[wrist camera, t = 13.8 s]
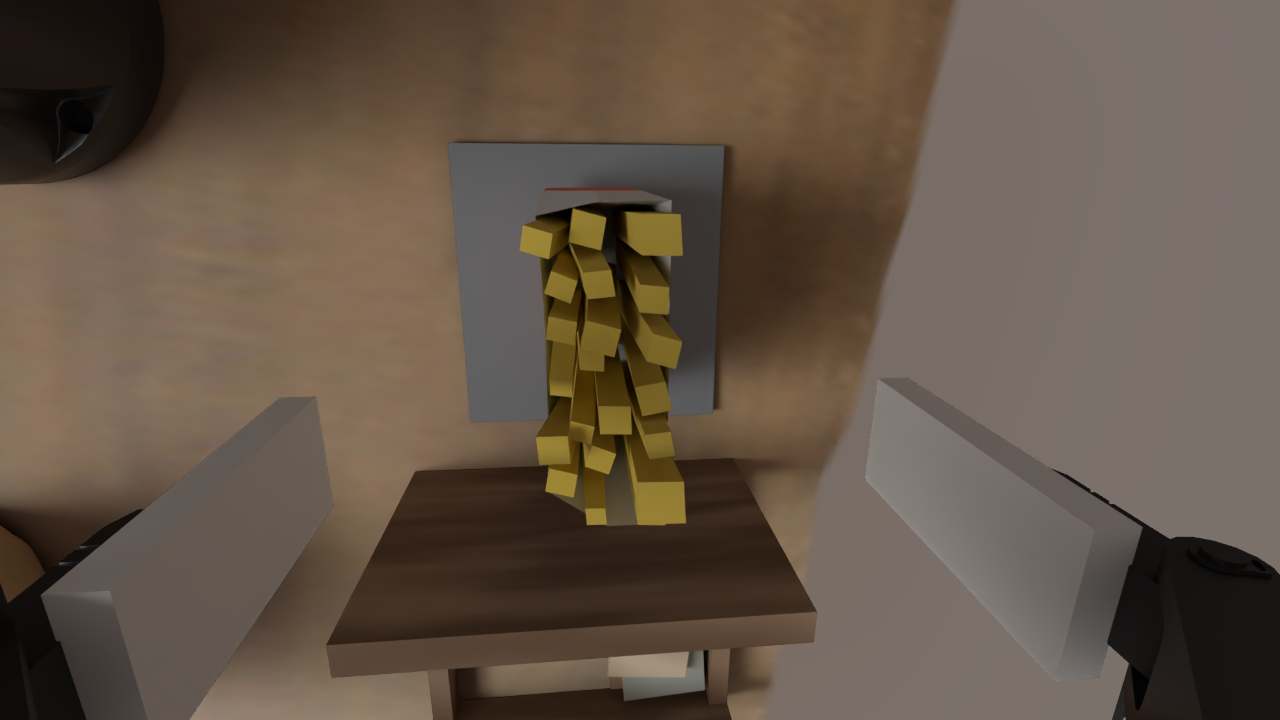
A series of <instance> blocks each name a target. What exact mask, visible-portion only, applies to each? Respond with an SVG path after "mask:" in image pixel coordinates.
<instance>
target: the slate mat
mask: <svg viewBox="0 0 1280 720" xmlns="http://www.w3.org/2000/svg"><path fill="white" fill-rule="evenodd" d="M448 147H449V160H450V172H451V185H452V197H453V210H454V223H455V235H456V248H457V260H458V273H459V285H460V298H461V311H462V323H463V336H464V348H465V361H466V373H467V386H468V399H469V411H470V422H495V421H524V420H547V418H548V414H547V376H546V339H545V324H544V309H543V294H542V279H541V267H540V258H539V256H536V255H532V254H529V253H526V252H522V251H520V244H521V236H522V229H523V225H525V224H527V223H530V222H533V221H535V220H536V218H535V215H536V212H537V209H538V206H539V203H540V200H541V197H542V194H543V191H544V190H545V189H546V188H635V189H638V190H641V191H645V192H648V193H651V194H654V195H657V196H660V197H663V198H666V199H669V200H672V204H671V213H672V214H681V230H682V248H683V256H671V266H670V326H671V328H672V329H673V330H674V332H675V333H676V334H677V336H678V337H679V338H680V339H681V341H682V346H681V350H680V354H679V358H678V362H677V366H676V369H673V368H669V391H668V394H669V398H670V402H671V406H672V411H668V416H669V415H698V414H713V394H714V371H715V348H716V325H717V302H718V279H719V256H720V233H721V211H722V188H723V165H724V146H706V145H608V144H511V143H448Z"/></svg>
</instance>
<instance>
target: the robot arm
mask: <svg viewBox="0 0 1280 720" xmlns="http://www.w3.org/2000/svg"><path fill="white" fill-rule="evenodd" d="M163 58H164V39H163V28H162V21H161V15H160V10H159V6H158V1H157V0H0V185H6V184H39V183H49V182H55V181H60V180H65V179H69V178H72V177H76V176H79V175H81V174H84V173H87V172H89V171H91V170H93V169H95V168H97V167H99V166H101V165H102V164H104V163H106V162H107V161H109V160H110V159H112V158H113V157H114V156H116V155H117V154H118V153H119V152H120V151H122V150H123V149H124V148H125V147H126V146H127V145H128V144H129V143H130V142H131V141H132V139H133V138H134V137H135V136H136V135H137V133H138V132H139V131H140V129H141V128H142V126H143V124H144V123H145V121H146V119H147V117H148V116H149V114H150V112H151V109H152V107H153V105H154V102H155V99H156V96H157V93H158V90H159V86H160V81H161V76H162V69H163ZM865 480H866V481H867V482H868V483H869V484H870V485H871V486H872V487H873V488H874V489H875V491H877V493H878V494H879V495H880V496H881V497H882V498H883V499H884V500H885V501H886V502H887V503H888V504H889V505H890V506H891V508H892V509H893V510H894V511H895V512H896V513H897V514H898V515H899V516H900V517H901V518H902V519H903V520H904V521H905V523H906V524H907V525H908V526H909V527H910V528H911V529H912V530H913V531H914V532H915V533H916V534H917V535H918V536H919V537H920V538H921V540H922V541H923V542H924V543H925V544H926V545H927V546H928V547H929V548H930V549H931V550H932V551H933V552H934V553H935V555H936V556H937V557H938V558H939V559H940V560H941V561H942V562H943V563H944V564H945V565H946V566H947V567H948V568H949V569H950V571H951V572H952V573H953V574H954V575H955V576H956V577H957V578H958V579H959V580H960V581H961V582H962V583H963V584H964V585H965V586H966V588H967V589H968V590H969V591H970V592H971V593H972V594H973V595H974V596H975V597H976V598H977V599H978V600H979V601H980V602H981V604H982V605H983V606H984V607H985V608H986V609H987V610H988V611H989V612H990V613H991V614H992V615H993V616H994V617H995V618H996V619H997V621H998V622H999V623H1000V624H1001V625H1002V626H1003V627H1004V628H1005V629H1006V630H1007V631H1008V632H1009V633H1010V634H1011V636H1012V637H1013V638H1014V639H1015V640H1016V641H1017V642H1018V643H1019V644H1020V645H1021V646H1022V647H1023V648H1024V649H1025V650H1026V652H1027V653H1028V654H1029V655H1030V656H1031V657H1032V658H1033V659H1034V660H1035V661H1036V662H1037V663H1038V664H1039V665H1040V666H1041V667H1042V669H1044V671H1045V672H1046V673H1047V674H1048V675H1049V676H1050V677H1051V678H1052V679H1053V680H1054V681H1055V682H1058V681H1059V682H1060V681H1071V680H1082V679H1093V678H1099V677H1100V674H1101V670H1102V667H1103V663H1104V660H1105V656H1106V653H1107V649H1108V646H1109V645H1110V646H1111V647H1112V648H1113V649H1114V650H1115V651H1116V652H1117V653H1119V654H1120V655H1121V656H1122V657H1123V658H1124V659H1125V660H1126V661H1127V662H1128V663H1129V666H1128V669H1127V672H1126V676H1125V679H1124V682H1123V685H1122V689H1121V692H1120V696H1119V699H1118V702H1117V705H1116V709H1115V712H1114V715H1113V718H1112V720H1123V718H1124V717H1126V720H1280V574H1279V573H1278V572H1277V571H1276V570H1275V569H1274V568H1273V567H1271V566H1270V565H1268V564H1267V563H1265V562H1264V561H1262V560H1261V559H1259V558H1258V557H1256V556H1253V555H1251V554H1249V553H1247V552H1245V551H1242V550H1240V549H1238V548H1235V547H1232V546H1229V545H1226V544H1222V543H1219V542H1216V541H1212V540H1207V539H1202V538H1195V537H1175V538H1172V539H1169V538H1167V537H1166V536H1164V535H1162V534H1161V533H1159V532H1158V531H1156V530H1154V529H1153V528H1151V527H1150V526H1148V525H1146V524H1145V523H1143V522H1142V521H1140V520H1139V519H1137V518H1135V517H1134V516H1132V515H1131V514H1129V513H1127V512H1125V511H1124V510H1123V509H1121V508H1119V507H1118V506H1116V505H1114V504H1109V501H1108V500H1106V499H1105V498H1103V497H1102V496H1100V495H1099V494H1097V493H1095V492H1091V491H1090V489H1089V488H1087V487H1086V486H1084V485H1083V484H1081V483H1079V482H1078V481H1076V480H1074V479H1073V478H1071V477H1070V476H1068V475H1066V474H1064V473H1061V472H1059V471H1056V470H1054V469H1051V468H1049V467H1047V466H1046V465H1044V464H1043V463H1041V462H1039V461H1038V460H1036V459H1035V458H1033V457H1032V456H1030V455H1028V454H1027V453H1025V452H1024V451H1022V450H1021V449H1019V448H1017V447H1016V446H1014V445H1013V444H1011V443H1010V442H1008V441H1006V440H1005V439H1003V438H1002V437H1000V436H999V435H997V434H995V433H994V432H992V431H991V430H989V429H987V428H986V427H984V426H983V425H981V424H980V423H978V422H976V421H975V420H973V419H972V418H970V417H969V416H967V415H965V414H964V413H962V412H961V411H959V410H958V409H956V408H954V407H953V406H951V405H950V404H948V403H946V402H945V401H943V400H942V399H940V398H939V397H937V396H935V395H934V394H932V393H931V392H929V391H928V390H926V389H925V388H923V387H921V386H920V385H918V384H917V383H915V382H914V381H912V380H910V379H909V378H887V379H886V378H885V379H878V383H877V391H876V398H875V406H874V413H873V421H872V429H871V437H870V444H869V452H868V460H867V467H866V476H865ZM333 506H334V505H333V499H332V492H331V486H330V480H329V474H328V467H327V461H326V455H325V449H324V442H323V436H322V430H321V424H320V417H319V411H318V405H317V399H316V397H285V398H279V399H278V400H276V401H275V402H274V403H273V404H272V405H270V406H269V407H268V408H267V409H265V410H264V411H263V412H262V413H261V414H259V415H258V416H257V417H256V418H255V419H253V420H252V421H251V422H250V423H249V424H247V425H246V426H245V427H244V428H242V429H241V430H240V431H239V432H238V433H236V434H235V435H234V436H233V437H232V438H230V439H229V440H228V441H227V442H225V443H224V444H223V445H222V446H221V447H219V448H218V449H217V450H216V451H215V452H213V453H212V454H211V455H210V456H209V457H207V458H206V459H205V460H204V461H202V462H201V463H200V464H199V465H198V466H196V467H195V468H194V469H193V470H192V471H190V472H189V473H188V474H187V475H186V476H184V477H183V478H182V479H181V480H179V481H178V482H177V483H176V484H175V485H173V486H172V487H171V488H170V489H169V490H167V491H166V492H165V493H164V494H163V495H161V496H160V497H159V498H158V499H156V500H155V501H154V502H153V503H152V504H150V505H149V506H148V507H147V508H146V509H139V510H136V511H134V512H132V513H130V514H129V515H127V516H125V517H123V518H121V519H119V520H117V521H115V522H113V523H111V524H109V525H107V526H105V527H103V528H102V529H101V530H100V531H98V532H97V533H96V534H95V535H93V536H92V537H91V538H90V539H88V540H87V541H86V542H84V543H83V544H82V545H81V546H80V549H79V550H74V551H73V552H72V553H71V554H69V555H68V556H67V557H66V558H64V559H63V560H62V561H60V562H59V566H58V567H53V568H52V569H50V570H49V571H48V572H47V573H45V574H44V575H43V576H42V577H40V578H39V579H38V580H36V581H35V582H34V583H33V584H31V585H30V586H29V587H28V588H26V589H25V590H24V591H23V592H21V593H20V594H19V595H18V596H16V597H15V598H14V599H12V600H11V601H10V602H9V603H7V600H6V597H5V594H4V591H3V589H2V586H1V583H0V720H189V719H190V718H191V717H192V715H193V714H194V712H195V711H196V709H197V708H198V706H199V705H200V703H201V702H202V700H203V699H204V697H205V696H206V694H207V693H208V691H209V690H210V688H211V687H212V685H213V684H214V682H215V681H216V679H217V678H218V677H219V675H220V674H221V672H222V671H223V669H224V668H225V666H226V665H227V663H228V662H229V660H230V659H231V657H232V656H233V654H234V653H235V651H236V650H237V648H238V647H239V645H240V644H241V642H242V641H243V639H244V638H245V636H246V635H247V634H248V632H249V631H250V629H251V628H252V626H253V625H254V623H255V622H256V620H257V619H258V617H259V616H260V614H261V613H262V611H263V610H264V608H265V607H266V605H267V604H268V602H269V601H270V599H271V598H272V596H273V595H274V594H275V592H276V591H277V589H278V588H279V586H280V585H281V583H282V582H283V580H284V579H285V577H286V576H287V574H288V573H289V571H290V570H291V568H292V567H293V565H294V564H295V562H296V561H297V559H298V558H299V556H300V555H301V554H302V552H303V551H304V549H305V548H306V546H307V545H308V543H309V542H310V540H311V539H312V537H313V536H314V534H315V533H316V531H317V530H318V528H319V527H320V525H321V524H322V522H323V521H324V519H325V518H326V516H327V515H328V513H329V512H330V511H331V509H332V508H333Z"/></svg>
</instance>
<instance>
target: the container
mask: <svg viewBox="0 0 1280 720" xmlns="http://www.w3.org/2000/svg"><path fill="white" fill-rule="evenodd" d="M44 574H45V571H44V569H43V567H42V566H41V564H40V562H39V560H38V558H37V556H36V554H35V552H34V551H33V549H32V548H31V547H30V546H29V545H28V544H27V543H25V542H24V541H23V540H22V539H21V538H19V537H17V536H15V535H13V534H11V533H10V532H9V531H8V530H6V529H5V528H3V527H2V526H1V525H0V583H1V586H2V589H3V591H4V594H5V597H6V600H7V603H9V602H10V601H11V600H12V599H14V598H15V597H16V596H18V595H19V594H20V593H21V592H23V591H24V590H25V589H26V588H28V587H29V586H30V585H31V584H33V583H34V582H35V581H36V580H38V579H39V578H40V577H42V576H43V575H44Z"/></svg>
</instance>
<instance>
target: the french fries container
mask: <svg viewBox="0 0 1280 720" xmlns="http://www.w3.org/2000/svg"><path fill="white" fill-rule="evenodd" d="M671 204H672V200H669V199H666V198H663V197H660V196H657V195H654V194H651V193H648V192H645V191H641V190H638V189H635V188H546V189H545V190H544V191H543V194H542V197H541V200H540V203H539V206H538V209H537V212H536V215H535V218H536V220H535V221H533V222H530V223H527V224H525V225H523V229H522V236H521V244H520V251H522V252H526V253H529V254H532V255H536V256H539V258H540V267H541V279H542V294H543V309H544V324H545V339H546V376H547V414H548V418H547V420H546V422H545V423H544V425H543V426H542V428H541V430H540V431H539V433H538V435H537V436H536V442H537V450H538V459H539V465H548V478H547V484H546V490H545V491H546V492H550V493H551V494H553V495H555V496H556V497H558V498H560V499H562V500H563V501H565V502H567V503H568V504H570V505H572V506H574V507H575V508H577V509H579V510H580V511H582V512H584V513H586V520H587V525H606V526H619V525H665V524H674V523H686V515H685V494H684V481H683V479H682V477H681V475H680V473H679V471H678V469H677V467H676V464H675V462H674V460H673V458H672V456H675V453H674V447H673V442H672V436H671V431H670V429H669V427H668V411H672V406H671V402H670V398H669V394H668V391H669V368H673V369H676V366H677V362H678V358H679V354H680V350H681V346H682V341H681V339H680V338H679V337H678V336H677V334H676V333H675V332H674V330H673V329H672V328H671V326H670V266H671V256H683V248H682V230H681V214H672V213H671Z"/></svg>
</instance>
